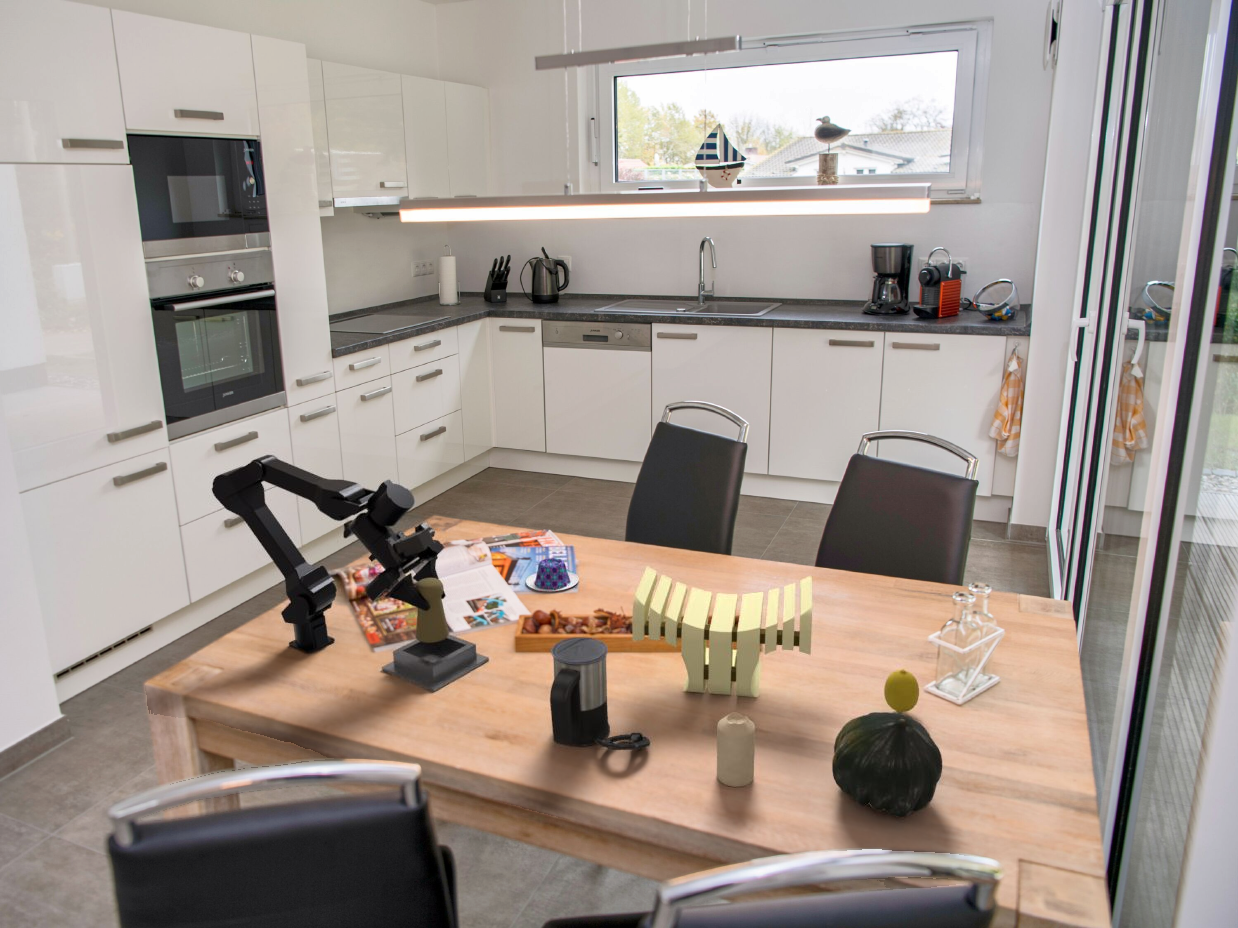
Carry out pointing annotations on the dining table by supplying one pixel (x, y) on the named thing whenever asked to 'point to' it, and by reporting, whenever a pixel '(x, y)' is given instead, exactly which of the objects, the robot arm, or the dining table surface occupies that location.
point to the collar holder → (435, 662)
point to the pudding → (552, 576)
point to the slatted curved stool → (721, 631)
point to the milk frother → (584, 697)
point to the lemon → (901, 691)
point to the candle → (735, 750)
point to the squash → (887, 762)
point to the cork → (431, 612)
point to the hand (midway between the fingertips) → (436, 603)
